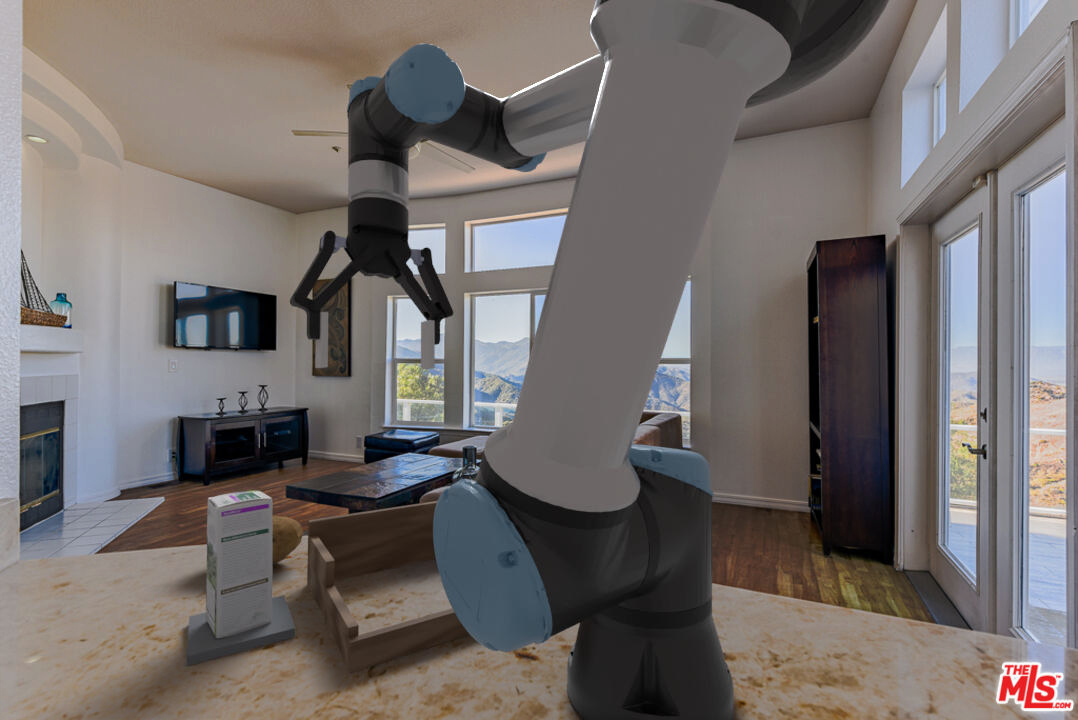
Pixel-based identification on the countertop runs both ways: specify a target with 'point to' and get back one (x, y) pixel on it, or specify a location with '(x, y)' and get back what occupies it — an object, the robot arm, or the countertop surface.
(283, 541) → the potato
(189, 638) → the slate mat
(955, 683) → the countertop surface
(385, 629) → the frame
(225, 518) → the syrup box
